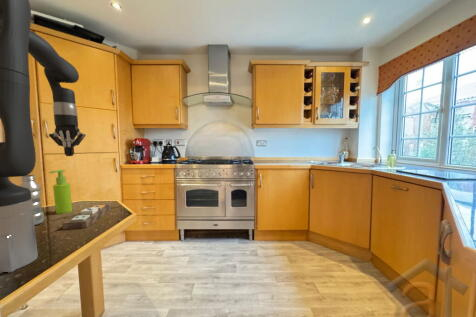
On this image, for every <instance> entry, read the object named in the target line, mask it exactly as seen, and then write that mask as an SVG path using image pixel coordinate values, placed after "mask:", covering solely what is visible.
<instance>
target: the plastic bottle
mask: <svg viewBox="0 0 476 317" xmlns="http://www.w3.org/2000/svg"><path fill="white" fill-rule="evenodd" d="M20 177H21V179H20V180H21V182H22V183H20V185H19V186H21V187H25V188H28V189H29V190H30V192H31V199H32V207H33V217H34V226H36V225H39V224H42V223H43V221H44V220H45V213H44V211H43V207H42V204H41V203H42V202H41V193H42V192H41V191H42V190H41V189H42V187H41V185H40V184H39V183H38V182H36V176H35V174H28V175H26V176H20Z"/></svg>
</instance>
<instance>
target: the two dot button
mask: <svg viewBox="0 0 476 317" xmlns="http://www.w3.org/2000/svg"><path fill="white" fill-rule="evenodd" d="M75 216H76V215H75ZM88 217H90V215H79V216H76V217H75V218H73V219H71V218H70V219H71V221H82V220H85V219H87V218H88Z"/></svg>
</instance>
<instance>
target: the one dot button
mask: <svg viewBox="0 0 476 317" xmlns="http://www.w3.org/2000/svg"><path fill="white" fill-rule="evenodd" d="M93 205H94V206H93V207H98V209H102V208H103V207H105V205H106V204H93ZM90 207H91V206H90ZM91 208H92V207H91Z"/></svg>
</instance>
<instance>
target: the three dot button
mask: <svg viewBox="0 0 476 317" xmlns="http://www.w3.org/2000/svg"><path fill="white" fill-rule="evenodd" d="M97 211H98V207H92V208H89V207H86V208H83V209H82V210H80V212H79V213H81V215H90V214H94V213H96V212H97Z"/></svg>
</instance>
